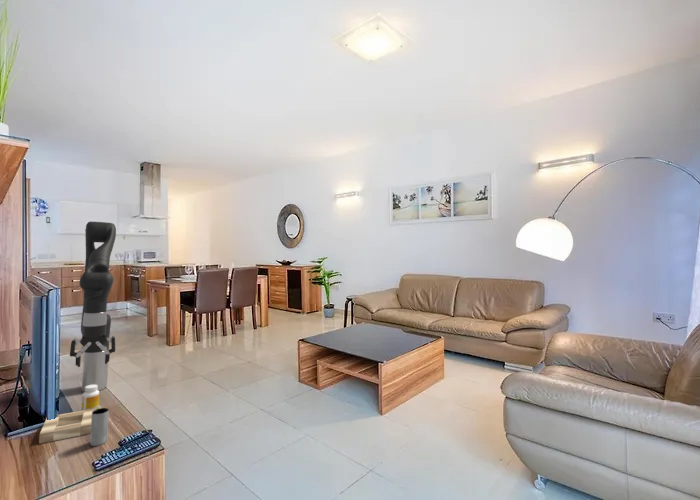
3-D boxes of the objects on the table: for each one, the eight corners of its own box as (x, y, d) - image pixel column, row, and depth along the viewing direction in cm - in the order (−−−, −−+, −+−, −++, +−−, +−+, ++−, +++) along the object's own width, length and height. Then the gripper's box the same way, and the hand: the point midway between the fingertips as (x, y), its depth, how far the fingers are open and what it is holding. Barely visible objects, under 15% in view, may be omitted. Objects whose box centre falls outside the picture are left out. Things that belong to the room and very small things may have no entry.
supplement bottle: (102, 408, 138) (103, 384, 138) (90, 414, 132) (92, 389, 133) (89, 407, 138) (90, 383, 138) (77, 413, 133) (79, 388, 133)
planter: (108, 437, 117) (110, 407, 117) (104, 444, 113) (106, 413, 113) (92, 439, 115) (94, 408, 116) (88, 447, 111) (89, 414, 111)
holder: (46, 424, 124) (47, 416, 124) (95, 416, 131) (95, 408, 131) (39, 443, 112) (39, 434, 112) (92, 432, 120) (93, 424, 120)
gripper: (116, 320, 143) (114, 359, 143) (72, 322, 135) (70, 364, 135) (116, 324, 137) (114, 365, 136) (70, 326, 129) (68, 370, 129)
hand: (92, 364), depth 136 cm, fingers open, 8 cm apart
